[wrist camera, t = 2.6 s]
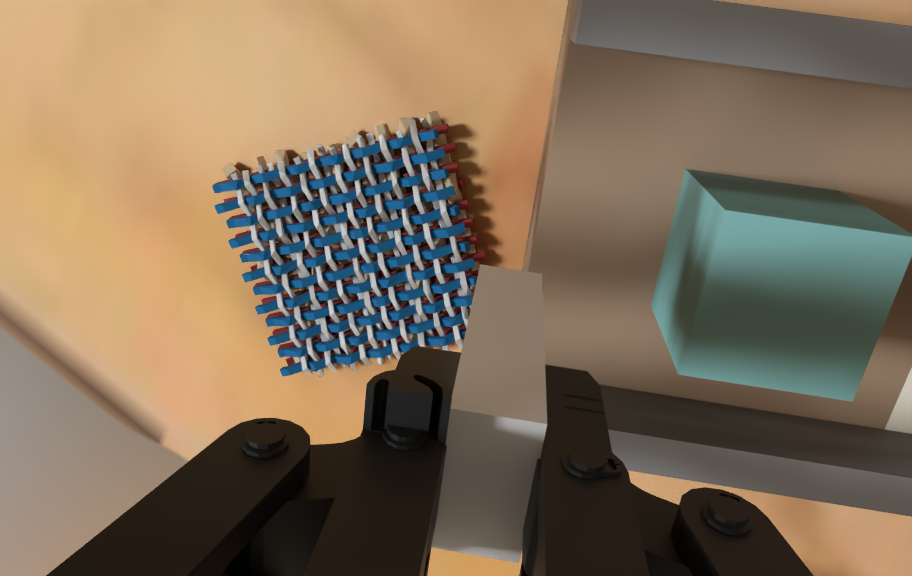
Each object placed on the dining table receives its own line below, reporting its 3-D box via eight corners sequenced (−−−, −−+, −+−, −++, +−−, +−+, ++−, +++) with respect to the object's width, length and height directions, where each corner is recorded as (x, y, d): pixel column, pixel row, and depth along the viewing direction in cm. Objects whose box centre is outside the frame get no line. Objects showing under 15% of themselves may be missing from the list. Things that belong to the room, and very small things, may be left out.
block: (685, 169, 23) (725, 210, 18) (839, 190, 22) (919, 238, 18) (650, 305, 24) (678, 374, 20) (791, 327, 24) (852, 401, 20)
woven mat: (509, 327, 32) (507, 348, 30) (298, 368, 34) (284, 390, 32) (450, 102, 28) (444, 109, 26) (218, 163, 30) (197, 173, 28)
